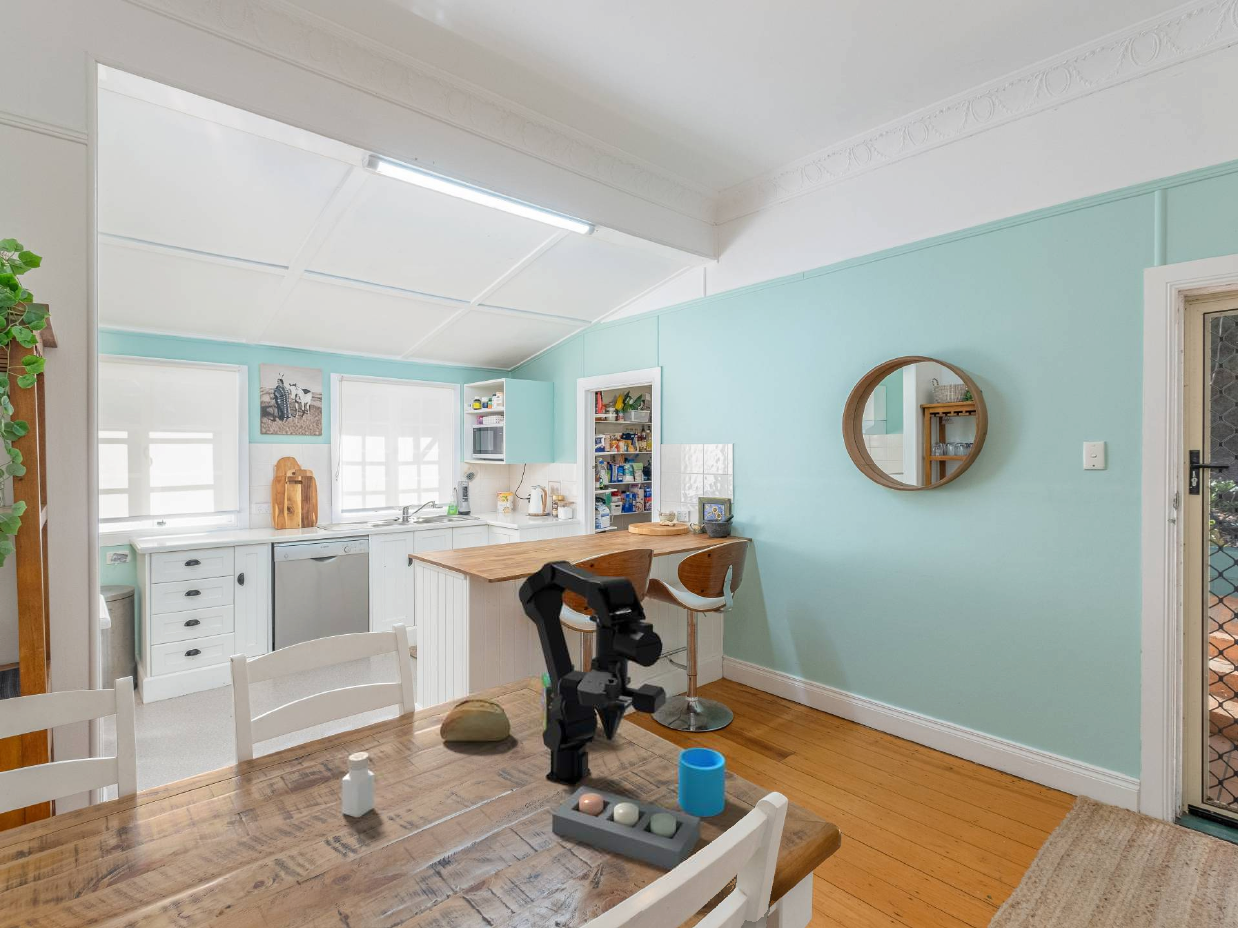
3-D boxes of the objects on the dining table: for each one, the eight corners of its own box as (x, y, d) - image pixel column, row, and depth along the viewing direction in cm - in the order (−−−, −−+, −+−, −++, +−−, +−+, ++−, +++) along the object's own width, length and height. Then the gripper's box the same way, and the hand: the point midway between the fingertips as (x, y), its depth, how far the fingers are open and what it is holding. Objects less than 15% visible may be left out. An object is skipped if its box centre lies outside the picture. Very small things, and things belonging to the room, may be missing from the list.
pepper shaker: (375, 808, 109) (376, 753, 109) (357, 819, 105) (357, 763, 105) (358, 802, 111) (359, 748, 111) (340, 814, 107) (340, 758, 107)
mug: (730, 815, 108) (731, 768, 108) (684, 818, 107) (684, 770, 107) (711, 780, 120) (712, 737, 120) (669, 782, 119) (670, 739, 119)
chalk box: (579, 718, 148) (580, 655, 148) (586, 734, 139) (587, 668, 139) (540, 721, 146) (541, 658, 146) (545, 738, 137) (545, 671, 137)
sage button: (646, 838, 98) (646, 823, 98) (656, 825, 102) (656, 810, 102) (670, 845, 97) (670, 829, 97) (679, 831, 100) (679, 816, 100)
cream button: (609, 827, 101) (609, 812, 101) (620, 814, 105) (620, 800, 105) (632, 833, 100) (632, 818, 100) (642, 821, 103) (642, 806, 103)
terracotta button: (574, 816, 104) (574, 802, 104) (586, 804, 108) (586, 791, 108) (596, 823, 102) (596, 808, 102) (607, 810, 106) (607, 796, 106)
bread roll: (442, 731, 140) (442, 695, 140) (510, 727, 143) (510, 692, 142) (437, 751, 131) (437, 713, 131) (510, 746, 133) (510, 709, 133)
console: (552, 832, 103) (552, 813, 103) (582, 802, 112) (582, 785, 112) (678, 872, 93) (678, 852, 93) (700, 836, 102) (700, 818, 102)
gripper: (541, 655, 107) (540, 746, 107) (641, 673, 99) (640, 772, 99) (574, 638, 117) (573, 722, 117) (667, 654, 109) (666, 743, 109)
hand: (610, 739), depth 110 cm, fingers closed
